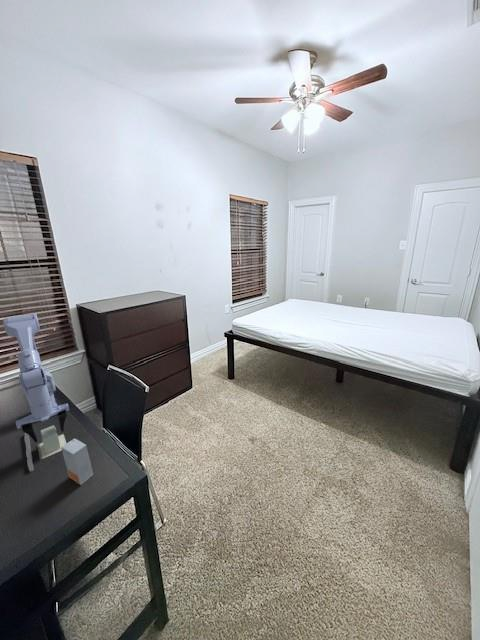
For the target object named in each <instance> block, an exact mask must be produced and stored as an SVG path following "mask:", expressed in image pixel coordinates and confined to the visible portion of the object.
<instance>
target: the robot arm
mask: <svg viewBox="0 0 480 640" xmlns="http://www.w3.org/2000/svg"><path fill="white" fill-rule="evenodd" d="M2 324H3V327H4V331H5V333H6V334H7V335H8V336H10V338H16V341H17V343H18V346H19V349H20V352H19V354H17V362H18V366H19V367H18V368H19V372H20V374H18V379H19V383H20V386H21V388H22V390H23V392H24V393H23V394H25V397H26V399H27V402H28V405H29V409H30V412H31V414H29V415H27V416H25V417H22V418H21V419H19V420H16V421H15V425H16V429H17V430H19V429H22V432H23V434H24V433H26V434H28V435H29V438H31V440H33V441H34V443H37V442H38V437H37V435H36V432H35V430H34V426H33V423H36V422H45V421H47V420H49V418H51V417H54V416H56V415H57V418H58V422H59V428H60V432H62V433H63V432H64V431H65V430H64V429H65V428H64V425H65V422H66V419H67V416H68V415H67V412H68V411H70V407H69V404H68V403H64V404H60V405H58V404H57V402H56V399H55V395H54V392H56V391H57V389H56V384H55V380H54V377H53V375H52V373H50V372H48V371H46V370H45V369H44V367H43V365H42V361H41V357H40V353H39V351H38V350H37V349H38V348H37V345H36V342H35V341H36V340H35V334H37V333H40V330H41V326H40V323H39V319H38V314H36V313H35V312H33V313H30V314H23V315H17V316H16V315H15V316H11V317H10V316H9V317H3V319H2Z"/></svg>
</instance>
